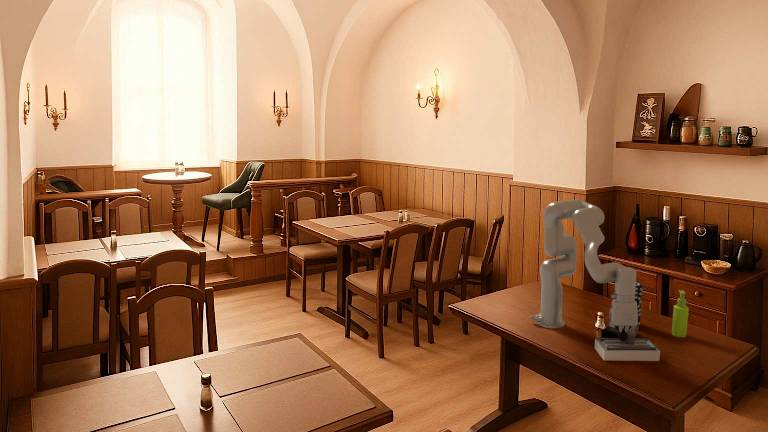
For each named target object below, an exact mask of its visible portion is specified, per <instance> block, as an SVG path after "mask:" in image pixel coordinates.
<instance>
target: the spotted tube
mask: <svg viewBox="0 0 768 432" xmlns="http://www.w3.org/2000/svg"><path fill="white" fill-rule="evenodd" d="M643 287H644V285H643V283H642V282H640V281H636V286H635V301H636V302H637V309H638V324H639V325H638V328H639V327H640V326H641V315H642V313H641V312H642V303H643V301H642V300H643V298H642V297H643Z"/></svg>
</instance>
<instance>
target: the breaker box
mask: <svg viewBox="0 0 768 432" xmlns="http://www.w3.org/2000/svg"><path fill="white" fill-rule="evenodd" d="M594 349H595V350H596V352H597V354H598V355H599V356H600V357H601V358H602V360H603V361H614V362H615V361H623V362H624V361H625V362H626V361H629V362H634V361H635V362H637V361H638V362H639V361H640V362H644V361H645V362H659V361H660V359H661V357H660V356H661V351H660V350H659V348H657V347H656V346H655V345H654V344H653V343H652V342H651V341H650V340H649V339H648V338H643V337H642V338H635V337H634V344H626V339H625V342H624V341H620V340H619V339H618V337H615V338H614V337H611V338H610V337H606V338H601V337H599V339H594Z"/></svg>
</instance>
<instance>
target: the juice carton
mask: <svg viewBox="0 0 768 432" xmlns="http://www.w3.org/2000/svg"><path fill="white" fill-rule="evenodd" d="M638 325H639V324H638V323H637V326H636V327H633V328H631V329H629V330H628V332H627V333H633V334H634V335H635V337H636V336H638V335H639V327H638ZM622 329H623V326H622ZM600 333H601V336H600V338H609V336H610V335H612V334H614V335H617V336H618V330H617V329H616V328H614V327H610V326H609V324H608V325H607V326H606V327H605V328H603V329H602V330H601V331H600Z"/></svg>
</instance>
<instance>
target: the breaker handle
mask: <svg viewBox="0 0 768 432" xmlns="http://www.w3.org/2000/svg"><path fill="white" fill-rule="evenodd" d="M635 337H636V336H635V335H634V334H633V333H627V336H626V344H634V338H635Z"/></svg>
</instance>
